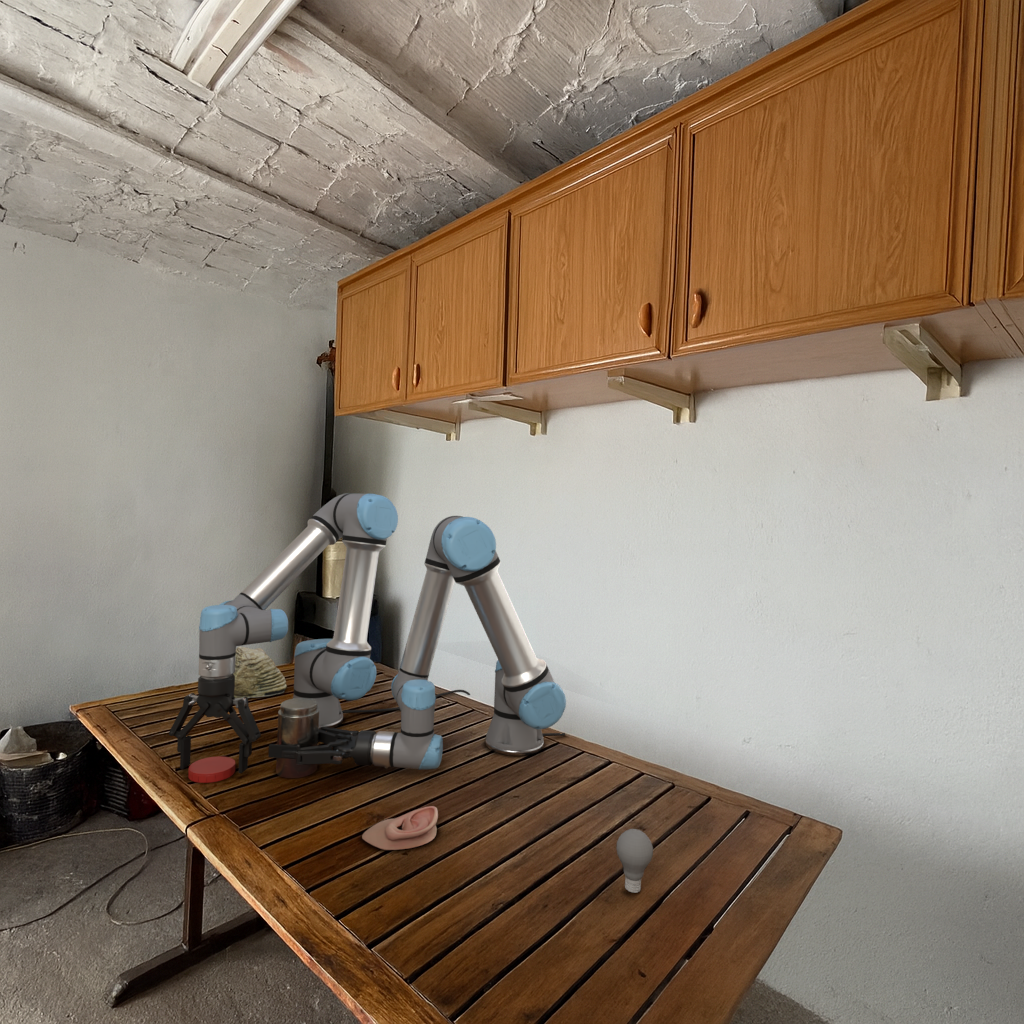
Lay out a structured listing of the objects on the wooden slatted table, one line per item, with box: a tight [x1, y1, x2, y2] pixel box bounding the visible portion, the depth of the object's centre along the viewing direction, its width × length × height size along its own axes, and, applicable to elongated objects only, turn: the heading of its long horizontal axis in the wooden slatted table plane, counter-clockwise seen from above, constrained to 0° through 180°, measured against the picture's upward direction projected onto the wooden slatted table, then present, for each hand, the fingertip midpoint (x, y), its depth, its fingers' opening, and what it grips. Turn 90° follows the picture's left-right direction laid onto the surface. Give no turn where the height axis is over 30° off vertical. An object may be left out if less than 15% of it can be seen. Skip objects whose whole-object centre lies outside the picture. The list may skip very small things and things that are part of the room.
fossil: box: [233, 646, 288, 699], centre depth 198 cm, size 9×18×15 cm, turn 132°
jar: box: [275, 698, 319, 779], centre depth 146 cm, size 9×9×16 cm
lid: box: [187, 756, 237, 784], centre depth 142 cm, size 10×10×2 cm
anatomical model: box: [361, 805, 439, 851], centre depth 120 cm, size 13×4×12 cm
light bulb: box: [615, 828, 654, 894], centre depth 106 cm, size 6×6×10 cm
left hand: (214, 768), depth 143 cm, fingers open, 13 cm apart
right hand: (278, 742), depth 146 cm, fingers closed on jar, 9 cm apart
